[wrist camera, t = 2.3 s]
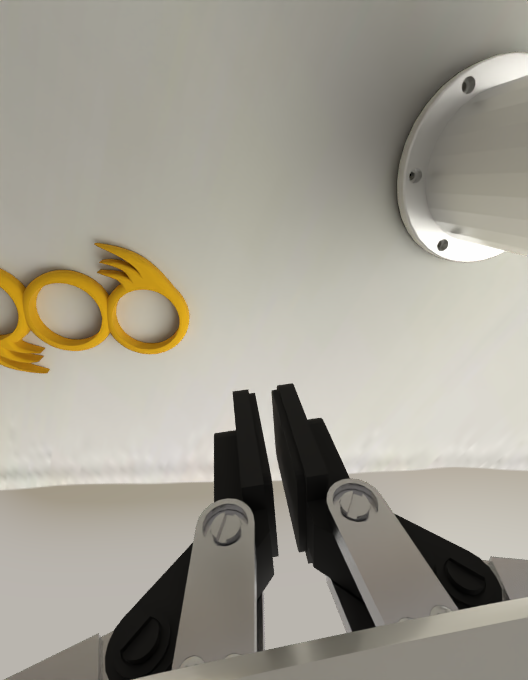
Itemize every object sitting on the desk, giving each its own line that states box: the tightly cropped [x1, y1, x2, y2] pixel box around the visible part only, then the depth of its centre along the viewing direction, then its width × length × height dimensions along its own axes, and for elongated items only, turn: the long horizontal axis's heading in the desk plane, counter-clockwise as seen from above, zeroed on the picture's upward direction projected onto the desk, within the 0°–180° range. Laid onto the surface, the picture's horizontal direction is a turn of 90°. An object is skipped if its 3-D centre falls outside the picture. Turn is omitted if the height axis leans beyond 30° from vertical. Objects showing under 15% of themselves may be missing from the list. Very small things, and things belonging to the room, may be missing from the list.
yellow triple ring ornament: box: [0, 243, 189, 373], centre depth 24 cm, size 17×2×10 cm
